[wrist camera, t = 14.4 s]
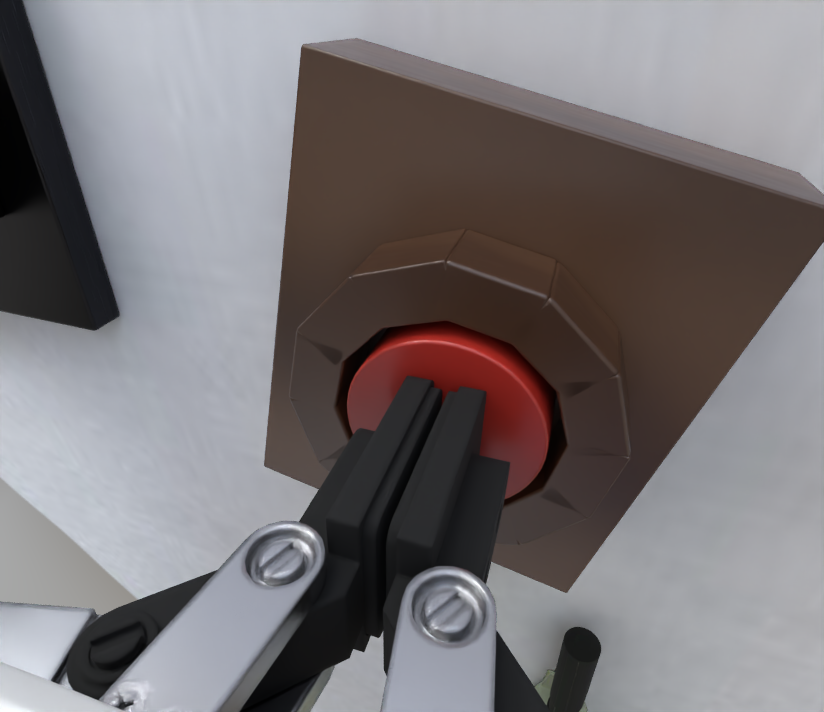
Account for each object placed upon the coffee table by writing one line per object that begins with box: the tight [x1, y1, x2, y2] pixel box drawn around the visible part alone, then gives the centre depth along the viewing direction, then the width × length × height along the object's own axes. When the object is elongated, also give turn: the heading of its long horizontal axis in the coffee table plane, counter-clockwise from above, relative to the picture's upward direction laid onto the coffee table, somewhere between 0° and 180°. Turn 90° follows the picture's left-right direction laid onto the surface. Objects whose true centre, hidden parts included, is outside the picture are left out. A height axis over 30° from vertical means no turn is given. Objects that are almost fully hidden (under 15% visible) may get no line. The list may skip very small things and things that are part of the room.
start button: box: [347, 320, 556, 500], centre depth 12 cm, size 4×4×2 cm
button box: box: [264, 38, 824, 593], centre depth 13 cm, size 12×10×4 cm
